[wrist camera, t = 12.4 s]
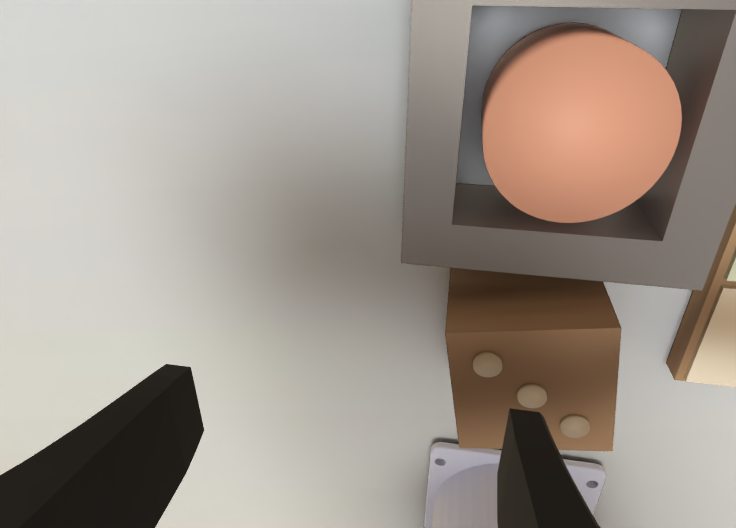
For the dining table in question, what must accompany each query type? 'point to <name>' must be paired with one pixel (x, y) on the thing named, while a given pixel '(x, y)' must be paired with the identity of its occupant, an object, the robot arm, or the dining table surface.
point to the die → (532, 356)
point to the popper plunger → (578, 123)
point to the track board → (710, 323)
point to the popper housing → (581, 239)
